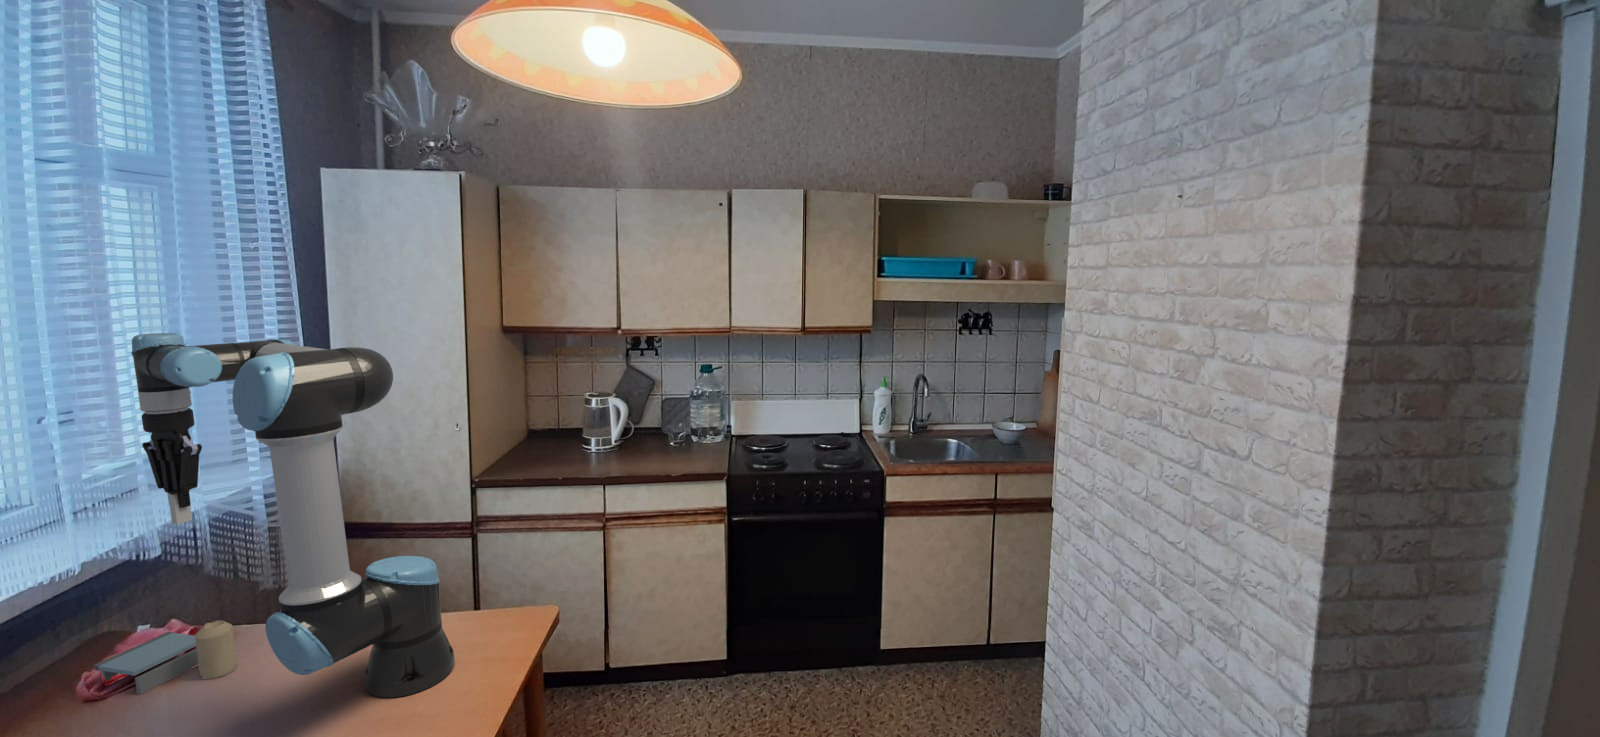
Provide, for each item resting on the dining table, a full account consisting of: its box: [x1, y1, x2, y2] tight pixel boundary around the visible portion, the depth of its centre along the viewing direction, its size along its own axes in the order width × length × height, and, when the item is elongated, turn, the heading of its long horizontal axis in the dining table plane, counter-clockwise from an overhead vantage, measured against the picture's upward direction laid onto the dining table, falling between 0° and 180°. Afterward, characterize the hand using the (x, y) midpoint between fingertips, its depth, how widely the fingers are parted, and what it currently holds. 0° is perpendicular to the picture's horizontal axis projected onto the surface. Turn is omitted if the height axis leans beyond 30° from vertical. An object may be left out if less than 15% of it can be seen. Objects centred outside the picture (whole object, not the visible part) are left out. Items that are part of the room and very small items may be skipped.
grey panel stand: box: [99, 648, 199, 695], centre depth 128 cm, size 10×12×3 cm
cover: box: [93, 631, 196, 677], centre depth 128 cm, size 11×12×1 cm
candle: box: [194, 619, 238, 680], centre depth 128 cm, size 6×6×10 cm
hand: (182, 521), depth 135 cm, fingers closed
